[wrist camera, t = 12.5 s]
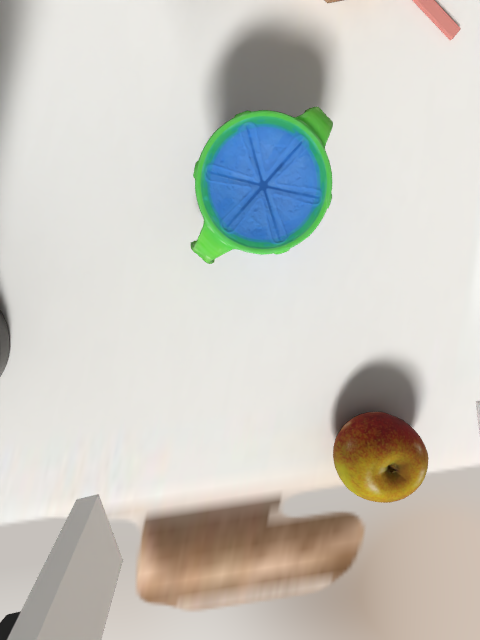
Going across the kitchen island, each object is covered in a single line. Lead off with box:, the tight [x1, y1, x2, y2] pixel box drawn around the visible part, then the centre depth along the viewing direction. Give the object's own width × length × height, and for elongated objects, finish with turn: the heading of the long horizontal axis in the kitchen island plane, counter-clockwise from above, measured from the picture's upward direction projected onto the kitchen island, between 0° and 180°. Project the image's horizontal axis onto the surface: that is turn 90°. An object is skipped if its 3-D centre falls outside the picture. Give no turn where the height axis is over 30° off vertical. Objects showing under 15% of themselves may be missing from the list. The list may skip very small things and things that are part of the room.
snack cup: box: [191, 107, 333, 264], centre depth 37 cm, size 16×10×10 cm
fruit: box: [333, 412, 428, 502], centre depth 45 cm, size 10×9×8 cm
